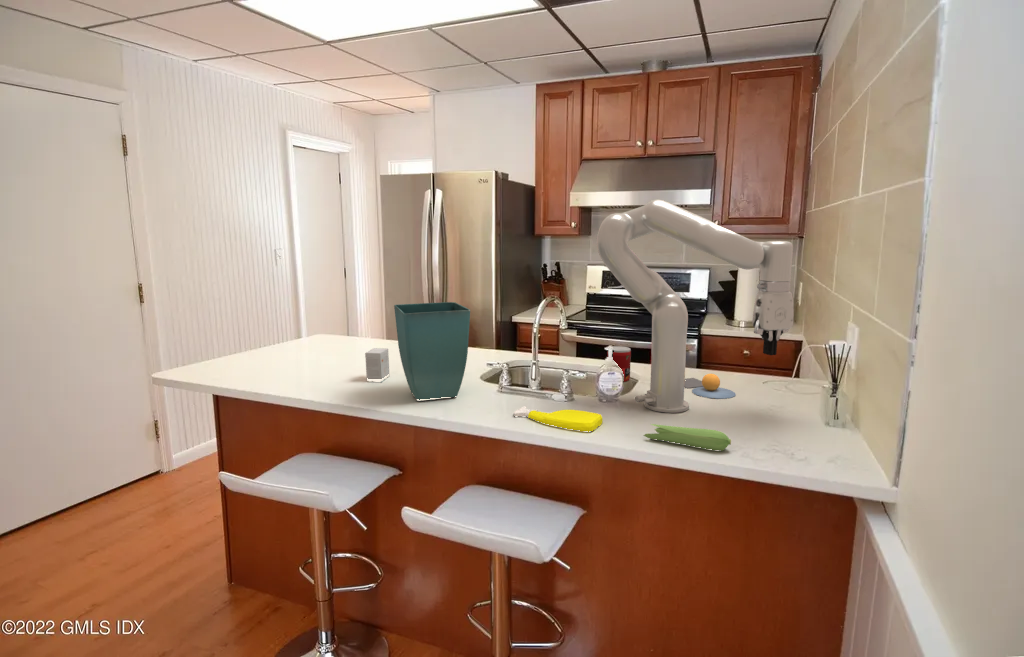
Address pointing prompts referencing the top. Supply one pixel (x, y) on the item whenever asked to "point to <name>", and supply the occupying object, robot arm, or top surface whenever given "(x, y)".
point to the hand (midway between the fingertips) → (769, 354)
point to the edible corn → (691, 437)
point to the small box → (377, 363)
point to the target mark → (714, 393)
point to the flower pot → (433, 347)
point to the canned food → (623, 360)
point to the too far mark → (692, 383)
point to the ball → (711, 382)
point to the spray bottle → (564, 418)
